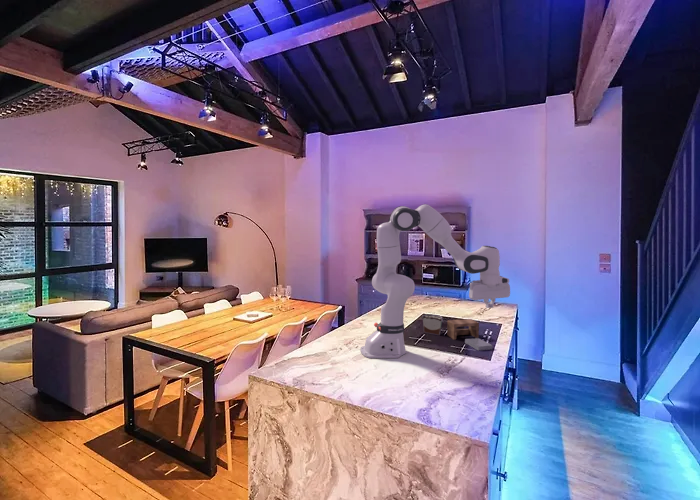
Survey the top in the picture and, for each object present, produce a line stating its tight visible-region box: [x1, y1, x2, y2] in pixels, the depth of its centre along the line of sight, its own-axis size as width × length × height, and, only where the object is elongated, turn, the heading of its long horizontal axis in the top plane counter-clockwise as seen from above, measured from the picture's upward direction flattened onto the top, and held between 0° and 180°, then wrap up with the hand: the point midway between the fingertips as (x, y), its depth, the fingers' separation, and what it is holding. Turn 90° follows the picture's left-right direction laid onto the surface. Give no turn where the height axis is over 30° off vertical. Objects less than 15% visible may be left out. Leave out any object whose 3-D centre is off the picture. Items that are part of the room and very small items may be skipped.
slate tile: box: [464, 337, 493, 351], centre depth 189 cm, size 8×12×2 cm, turn 15°
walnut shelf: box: [446, 318, 480, 340], centre depth 204 cm, size 15×8×8 cm, turn 102°
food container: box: [421, 313, 444, 336], centre depth 211 cm, size 12×6×10 cm, turn 58°
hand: (489, 307), depth 176 cm, fingers closed
